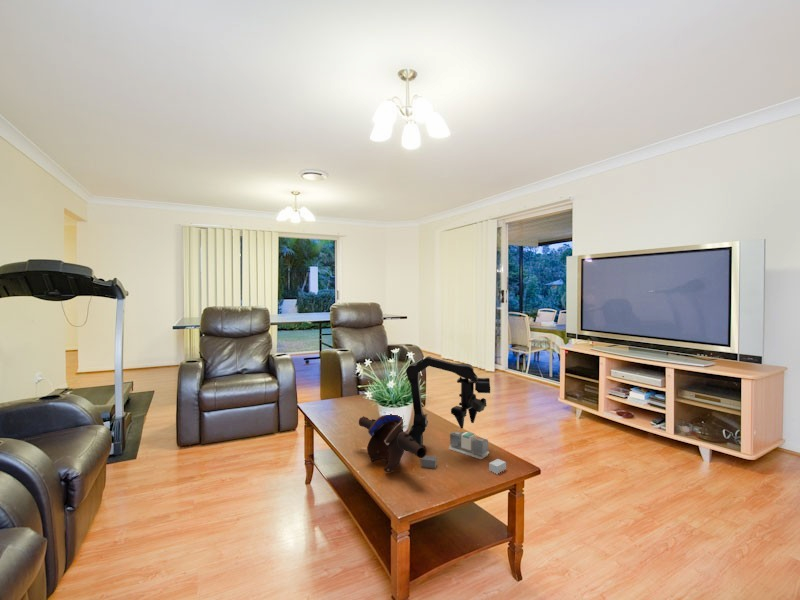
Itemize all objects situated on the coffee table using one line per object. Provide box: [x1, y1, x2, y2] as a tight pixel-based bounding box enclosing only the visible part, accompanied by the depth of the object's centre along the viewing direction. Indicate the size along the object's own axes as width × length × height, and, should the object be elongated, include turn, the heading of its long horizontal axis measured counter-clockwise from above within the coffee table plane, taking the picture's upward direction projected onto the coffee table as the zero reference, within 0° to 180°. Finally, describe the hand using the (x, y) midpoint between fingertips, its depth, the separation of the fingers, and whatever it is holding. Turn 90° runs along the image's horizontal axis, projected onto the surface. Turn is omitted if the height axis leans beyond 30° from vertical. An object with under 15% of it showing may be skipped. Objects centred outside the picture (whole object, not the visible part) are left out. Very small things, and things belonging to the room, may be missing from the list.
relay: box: [420, 455, 438, 469], centre depth 162 cm, size 4×6×4 cm, turn 76°
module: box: [461, 431, 477, 450], centre depth 176 cm, size 5×5×6 cm
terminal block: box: [488, 458, 507, 475], centre depth 158 cm, size 6×4×4 cm, turn 129°
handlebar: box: [358, 414, 427, 473], centre depth 163 cm, size 45×13×20 cm, turn 37°
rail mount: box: [448, 430, 490, 460], centre depth 176 cm, size 7×17×7 cm, turn 49°
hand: (467, 425), depth 177 cm, fingers open, 9 cm apart
